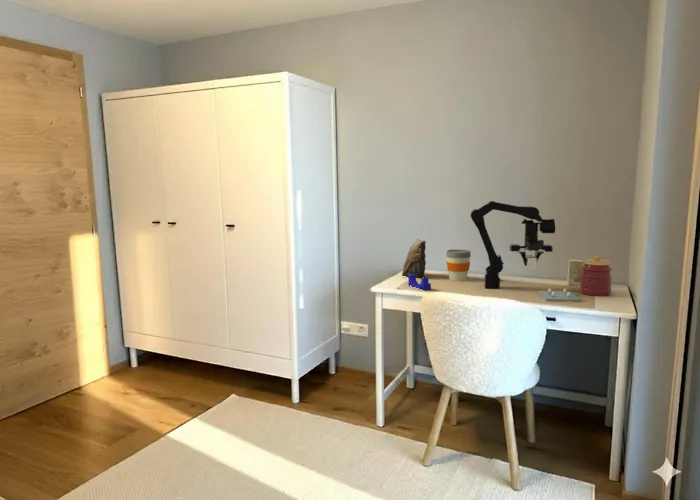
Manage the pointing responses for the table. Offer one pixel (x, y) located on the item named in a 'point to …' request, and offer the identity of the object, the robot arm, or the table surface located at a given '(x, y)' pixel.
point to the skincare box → (574, 272)
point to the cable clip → (412, 281)
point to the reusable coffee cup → (458, 264)
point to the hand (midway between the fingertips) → (530, 265)
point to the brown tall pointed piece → (415, 260)
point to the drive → (530, 263)
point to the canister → (596, 277)
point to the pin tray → (559, 295)
